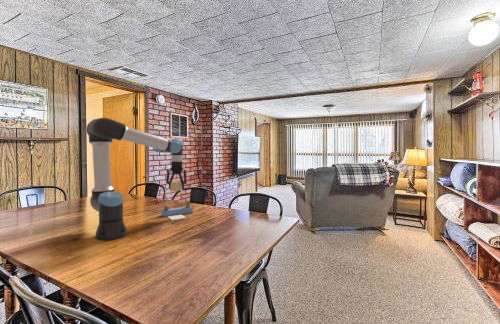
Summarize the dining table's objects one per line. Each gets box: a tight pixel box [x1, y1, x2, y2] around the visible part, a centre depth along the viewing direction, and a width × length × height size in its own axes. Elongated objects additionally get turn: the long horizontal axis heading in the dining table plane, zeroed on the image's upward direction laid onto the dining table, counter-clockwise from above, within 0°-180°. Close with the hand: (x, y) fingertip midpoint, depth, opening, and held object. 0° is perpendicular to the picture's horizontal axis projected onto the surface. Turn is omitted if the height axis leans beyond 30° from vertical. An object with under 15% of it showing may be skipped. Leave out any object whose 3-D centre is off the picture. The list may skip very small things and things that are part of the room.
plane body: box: [160, 200, 194, 218], centre depth 187 cm, size 5×22×9 cm, turn 126°
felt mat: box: [167, 214, 187, 221], centre depth 176 cm, size 9×10×1 cm
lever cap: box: [169, 181, 182, 192], centre depth 181 cm, size 6×8×6 cm
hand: (176, 193), depth 181 cm, fingers closed on lever cap, 6 cm apart
